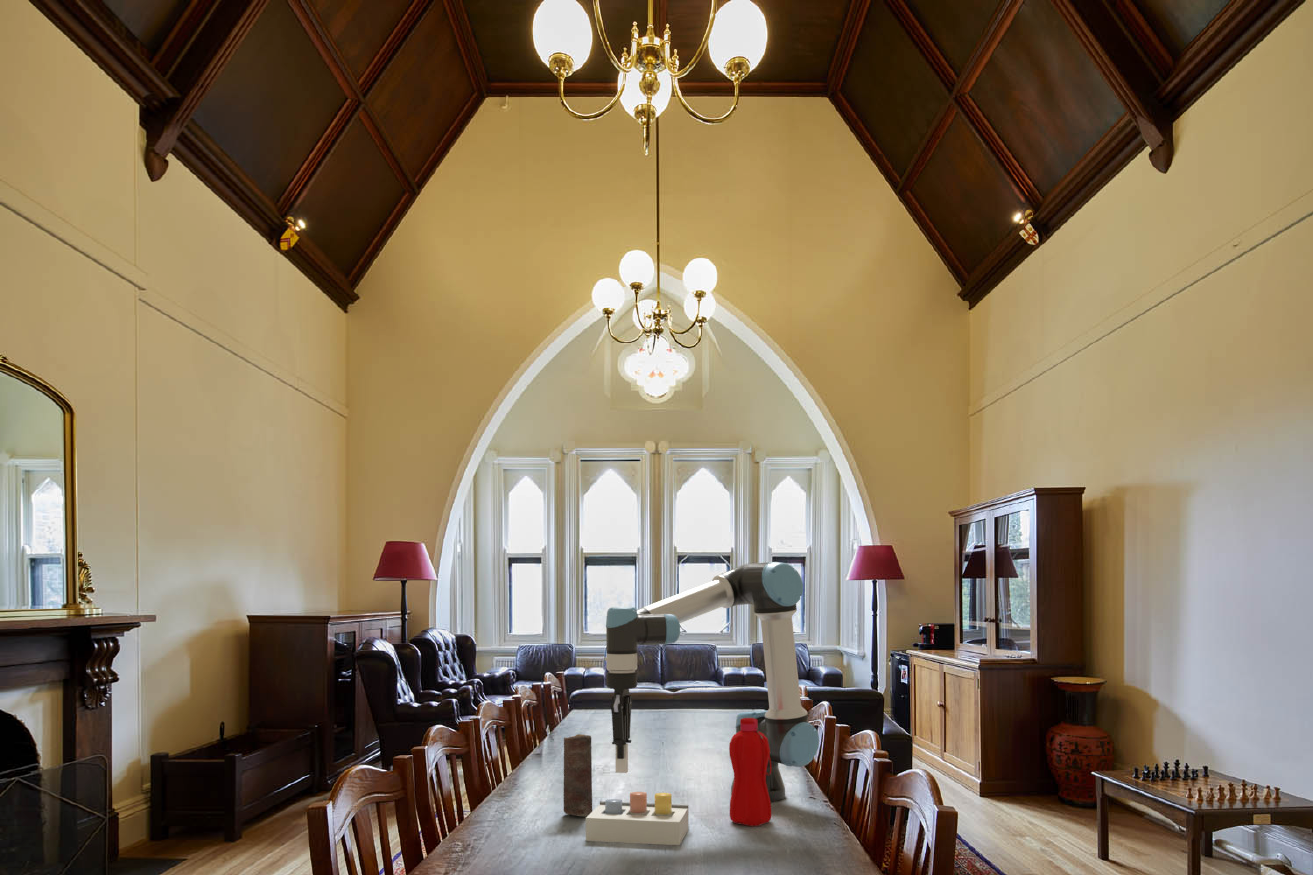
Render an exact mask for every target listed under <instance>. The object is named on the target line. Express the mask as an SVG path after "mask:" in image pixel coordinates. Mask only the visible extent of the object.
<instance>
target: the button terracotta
mask: <svg viewBox="0 0 1313 875" xmlns="http://www.w3.org/2000/svg"><path fill="white" fill-rule="evenodd" d="M647 795H648V793H647V792H644V791H632V792H629V802H630V812H631V813H645V812H647V803H648V802H647V801H648V800H647V797H648V796H647Z"/></svg>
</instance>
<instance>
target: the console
mask: <svg viewBox="0 0 1313 875" xmlns="http://www.w3.org/2000/svg"><path fill="white" fill-rule="evenodd" d="M605 801H606V800H605ZM605 801H604V800H603V801H599V805H598V806H597V807H595V808H594V809H592V812H591V813H590V814H589V815H588V816H587V817H585V841H586V842H587V841H588V842H607V843H608V842H609V843H623V844H624V843H626V844H646V845H647V844H648V845H667V846H669V845H670V846H681V844H682V842H683V840H684V838H685V836H686V835H687V833H688V831H689V827H690V826H689V825H690V824H689V820H690V819H689V804H672V813H670V814H656V813H655V803H650V802H649V803H648V802H647V812H645V813H631V812H630V801H628V802H626V801H624V802H623V801H622V815H621V814H605Z"/></svg>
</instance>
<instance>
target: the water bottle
mask: <svg viewBox="0 0 1313 875" xmlns="http://www.w3.org/2000/svg"><path fill="white" fill-rule="evenodd" d="M740 723H741V730H740V731H739V732H738V733H736V732H735V734H733V735H732V737H731V739H730V741H729V744H728V745H729V747H728V749H729V758H730V762H731V766H732V772H733V779H734V784H733V789H732V795H731V794H730V800H729V818H730V820H731V821H732V822H733V823H734V824H737V825H738V824H739V825H743V826H748V827H758V826H761V825H763V824H764V825H765V824H766V823H767V822H768V823H770V821H771V819H772V815H773V814H772V804H771V802H772V801H770V798H769V793H768V789H767V785H766V774H767V772H766V770H767V765H768V759H769V760H770V755H769V754H770V748H769V743H768V739H767V738H766V737H765V735H764V734H762V733H761V732H759V731H758V720H757V719H754V718H743V719H741V722H740ZM770 774H771V760H770ZM770 774H769V775H770ZM767 775H768V774H767Z"/></svg>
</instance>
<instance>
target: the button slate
mask: <svg viewBox="0 0 1313 875" xmlns="http://www.w3.org/2000/svg"><path fill="white" fill-rule="evenodd" d="M622 802H623V800H622V799H619V798H609V799H606V800H605V814H621V815H622Z"/></svg>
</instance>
